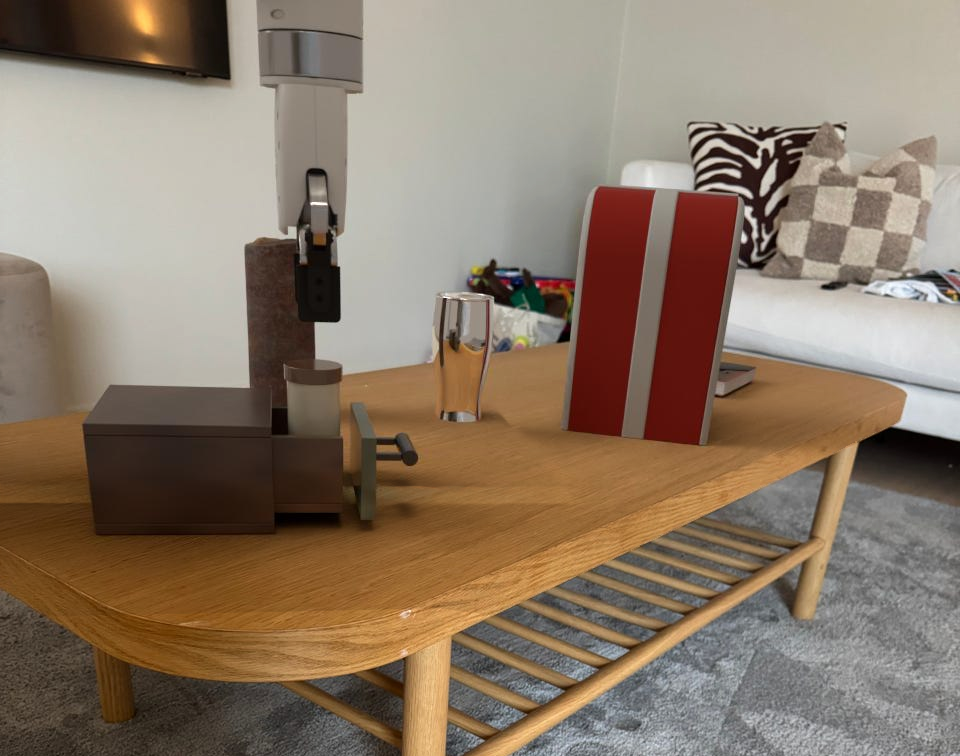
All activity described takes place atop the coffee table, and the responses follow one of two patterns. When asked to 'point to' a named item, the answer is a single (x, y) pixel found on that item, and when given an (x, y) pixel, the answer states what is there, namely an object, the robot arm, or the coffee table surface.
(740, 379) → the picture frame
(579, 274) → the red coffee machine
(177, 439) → the cabinet
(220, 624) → the coffee table surface
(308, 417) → the spice jar
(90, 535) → the coffee table surface
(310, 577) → the coffee table surface
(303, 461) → the drawer
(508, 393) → the coffee table surface
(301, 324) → the candle
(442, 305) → the beer glass
